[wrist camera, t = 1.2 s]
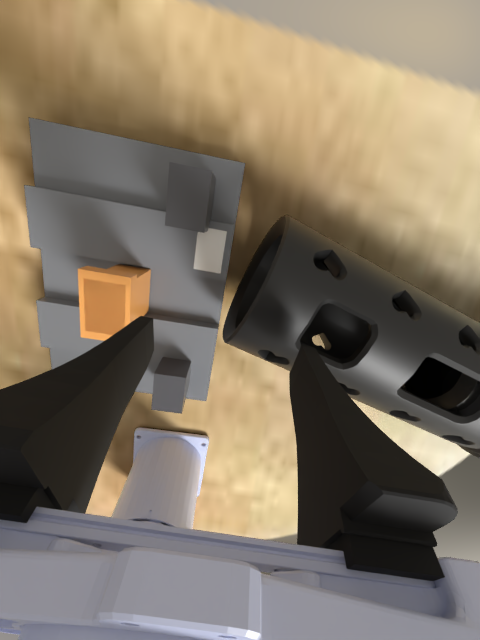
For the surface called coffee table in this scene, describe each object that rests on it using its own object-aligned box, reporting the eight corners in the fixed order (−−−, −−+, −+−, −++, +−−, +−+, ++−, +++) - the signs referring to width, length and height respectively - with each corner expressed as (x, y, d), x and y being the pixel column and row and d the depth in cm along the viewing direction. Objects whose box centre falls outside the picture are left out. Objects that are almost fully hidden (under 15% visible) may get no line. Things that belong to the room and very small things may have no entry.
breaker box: (208, 388, 27) (201, 428, 22) (65, 368, 26) (23, 406, 20) (244, 168, 20) (247, 150, 14) (49, 127, 18) (-22, 92, 13)
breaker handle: (151, 316, 21) (129, 344, 17) (114, 310, 21) (80, 337, 17) (155, 263, 20) (130, 277, 15) (114, 256, 20) (77, 268, 15)
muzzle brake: (274, 211, 21) (308, 205, 11) (520, 348, 26) (688, 426, 16) (223, 311, 24) (215, 375, 14) (452, 417, 29) (560, 517, 19)
